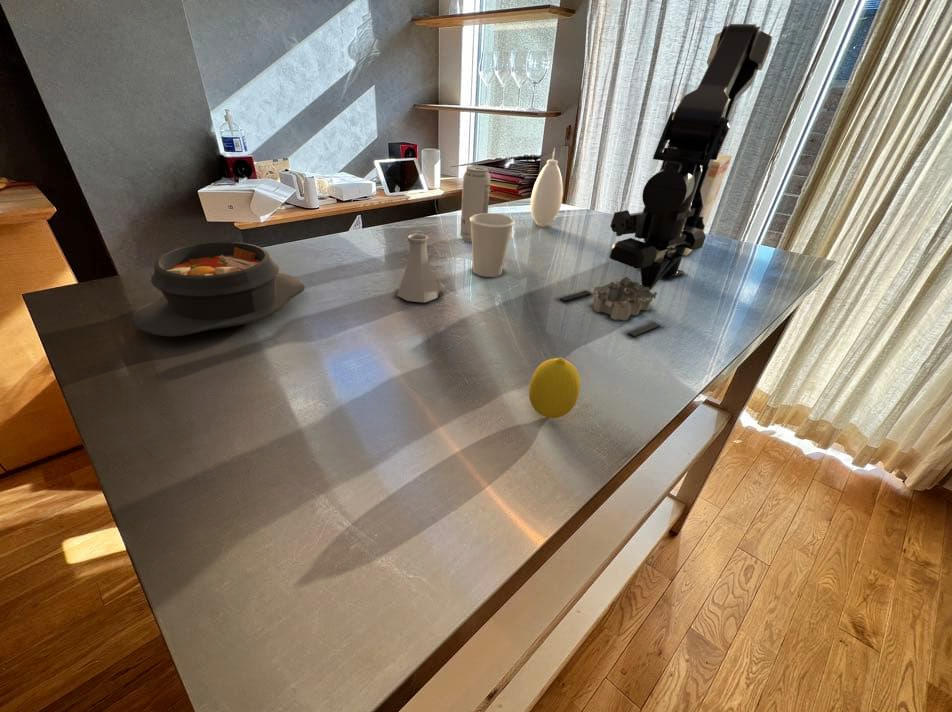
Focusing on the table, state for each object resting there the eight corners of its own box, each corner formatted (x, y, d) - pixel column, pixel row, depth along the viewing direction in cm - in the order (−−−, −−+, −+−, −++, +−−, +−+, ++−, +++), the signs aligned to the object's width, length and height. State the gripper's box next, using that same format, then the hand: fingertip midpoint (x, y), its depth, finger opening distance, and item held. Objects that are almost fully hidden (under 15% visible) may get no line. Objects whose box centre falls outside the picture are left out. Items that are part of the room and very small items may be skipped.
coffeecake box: (672, 235, 116) (701, 151, 104) (701, 242, 112) (734, 155, 101) (656, 249, 106) (685, 157, 94) (686, 256, 103) (721, 162, 91)
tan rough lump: (619, 324, 73) (626, 301, 70) (584, 307, 77) (589, 284, 75) (656, 309, 78) (664, 287, 75) (621, 294, 83) (627, 272, 80)
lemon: (520, 402, 54) (530, 345, 49) (564, 402, 54) (578, 345, 49) (529, 432, 49) (541, 373, 45) (577, 432, 50) (594, 373, 45)
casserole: (262, 273, 81) (251, 226, 76) (332, 302, 73) (325, 252, 68) (112, 320, 64) (85, 263, 59) (181, 364, 56) (157, 303, 51)
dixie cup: (486, 282, 83) (492, 228, 77) (457, 269, 88) (460, 216, 82) (516, 273, 88) (524, 221, 82) (487, 261, 93) (492, 210, 87)
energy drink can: (461, 234, 107) (465, 164, 98) (486, 236, 106) (492, 167, 97) (458, 241, 102) (461, 169, 93) (484, 244, 102) (490, 172, 92)
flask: (446, 292, 79) (448, 235, 73) (426, 307, 74) (427, 246, 68) (410, 283, 81) (409, 227, 75) (389, 297, 76) (386, 238, 70)
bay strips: (585, 292, 82) (586, 290, 82) (659, 326, 72) (660, 325, 72) (559, 299, 79) (559, 298, 79) (633, 337, 69) (634, 335, 69)
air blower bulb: (526, 228, 114) (537, 148, 103) (528, 220, 120) (538, 144, 109) (557, 231, 113) (571, 151, 102) (556, 223, 119) (570, 146, 108)
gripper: (662, 182, 79) (638, 266, 89) (594, 196, 70) (576, 288, 80) (722, 196, 72) (689, 286, 82) (654, 214, 64) (626, 312, 73)
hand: (644, 292), depth 80 cm, fingers closed
